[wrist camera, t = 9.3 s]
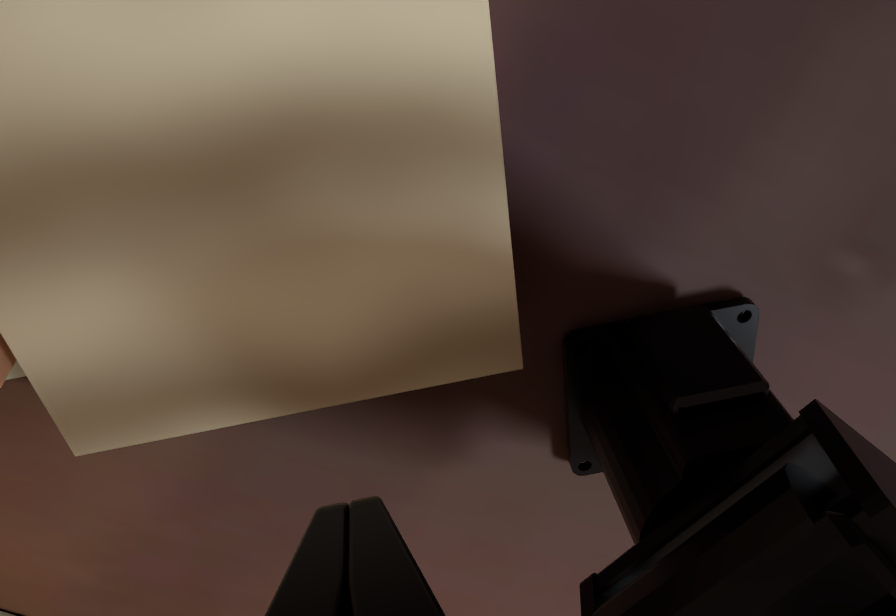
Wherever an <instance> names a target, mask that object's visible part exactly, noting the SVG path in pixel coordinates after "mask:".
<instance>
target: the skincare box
mask: <svg viewBox="0 0 896 616" xmlns="http://www.w3.org/2000/svg"><path fill="white" fill-rule="evenodd" d="M0 616H16V615H12V614H9V613H6V612H2V611H0Z"/></svg>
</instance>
